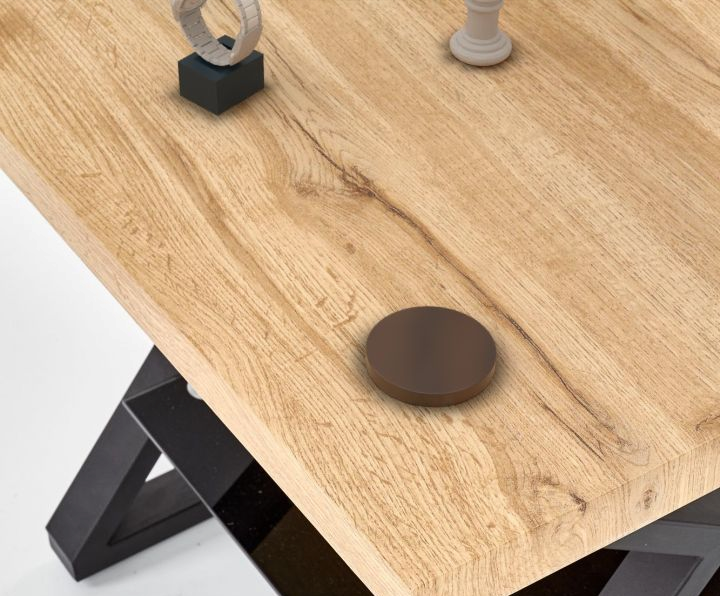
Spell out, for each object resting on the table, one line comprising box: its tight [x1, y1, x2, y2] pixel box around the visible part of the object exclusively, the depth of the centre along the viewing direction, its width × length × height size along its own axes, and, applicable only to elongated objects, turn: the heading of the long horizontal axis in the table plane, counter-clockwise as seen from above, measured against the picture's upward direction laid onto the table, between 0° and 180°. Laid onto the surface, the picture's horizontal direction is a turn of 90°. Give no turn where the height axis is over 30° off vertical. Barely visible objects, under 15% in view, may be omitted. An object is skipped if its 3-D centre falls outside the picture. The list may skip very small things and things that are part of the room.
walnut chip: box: [364, 305, 498, 408], centre depth 108 cm, size 9×9×1 cm
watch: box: [167, 0, 265, 116], centre depth 126 cm, size 6×8×11 cm
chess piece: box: [448, 0, 513, 67], centre depth 131 cm, size 5×5×9 cm
